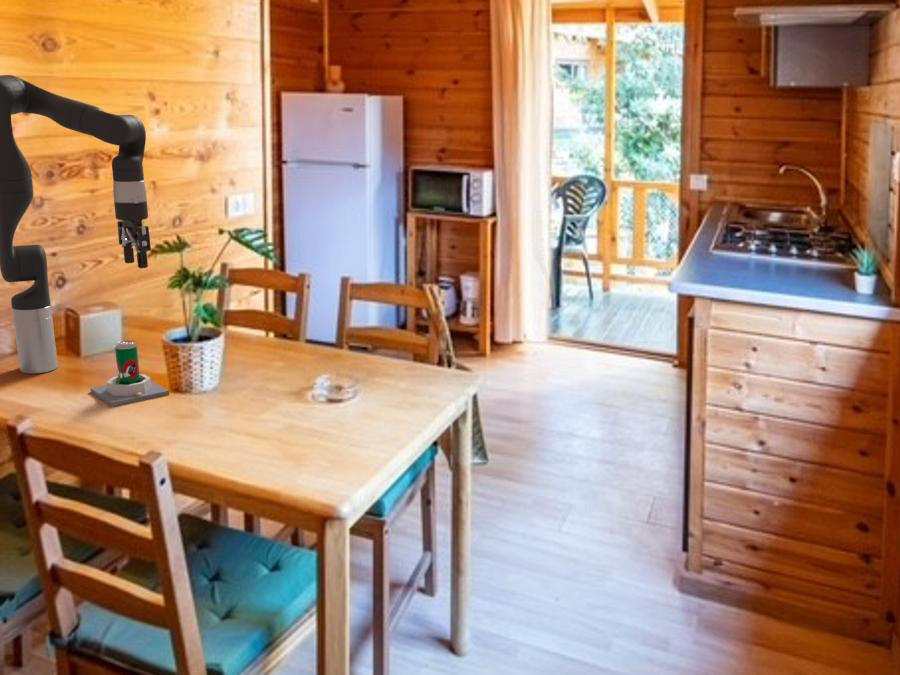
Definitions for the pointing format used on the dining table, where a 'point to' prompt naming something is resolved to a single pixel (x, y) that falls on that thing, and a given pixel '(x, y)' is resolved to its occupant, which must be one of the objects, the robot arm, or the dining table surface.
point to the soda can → (127, 362)
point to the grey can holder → (129, 391)
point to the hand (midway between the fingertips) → (136, 265)
